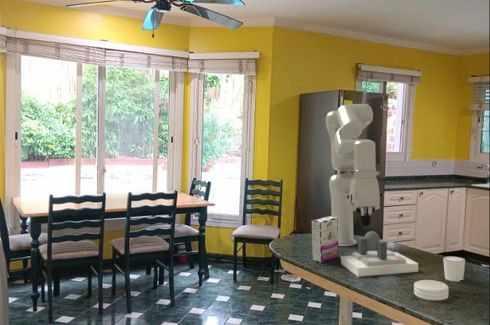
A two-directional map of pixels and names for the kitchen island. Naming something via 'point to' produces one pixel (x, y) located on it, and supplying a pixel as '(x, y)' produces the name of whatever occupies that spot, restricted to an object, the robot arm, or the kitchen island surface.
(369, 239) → the light bulb
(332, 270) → the kitchen island surface
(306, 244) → the kitchen island surface
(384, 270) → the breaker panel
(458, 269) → the light grey cup
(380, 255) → the handle
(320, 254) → the candy bar box
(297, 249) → the kitchen island surface
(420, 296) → the white ribbed round piece
